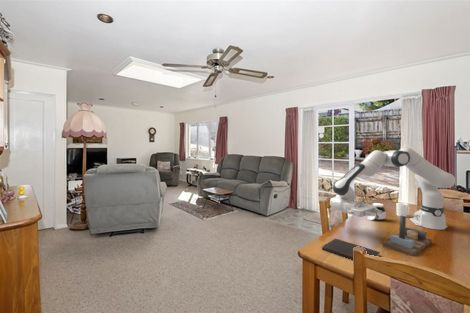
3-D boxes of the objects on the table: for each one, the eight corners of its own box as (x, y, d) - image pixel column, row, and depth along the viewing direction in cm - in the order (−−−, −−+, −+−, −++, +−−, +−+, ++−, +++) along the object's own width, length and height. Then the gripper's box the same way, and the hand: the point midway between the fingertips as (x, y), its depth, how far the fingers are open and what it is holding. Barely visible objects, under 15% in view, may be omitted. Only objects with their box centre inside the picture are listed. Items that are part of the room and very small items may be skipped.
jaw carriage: (411, 248, 120) (412, 219, 120) (389, 241, 129) (390, 214, 128) (414, 246, 123) (415, 218, 122) (393, 240, 131) (394, 213, 130)
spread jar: (386, 219, 175) (386, 204, 174) (383, 223, 166) (384, 207, 166) (368, 216, 183) (368, 201, 182) (365, 219, 174) (365, 204, 173)
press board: (412, 256, 117) (413, 244, 116) (382, 246, 128) (383, 235, 128) (431, 242, 132) (431, 232, 132) (403, 235, 144) (403, 225, 144)
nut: (404, 236, 137) (405, 229, 137) (414, 237, 136) (414, 230, 136) (409, 239, 132) (410, 233, 132) (419, 240, 131) (419, 233, 131)
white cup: (409, 218, 178) (410, 205, 177) (397, 216, 180) (397, 204, 180) (405, 215, 185) (406, 202, 185) (394, 214, 188) (394, 202, 187)
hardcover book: (335, 242, 135) (335, 238, 135) (379, 256, 118) (379, 251, 118) (321, 250, 124) (321, 246, 124) (368, 267, 107) (368, 262, 107)
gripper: (345, 205, 140) (369, 211, 129) (362, 201, 152) (386, 206, 140) (345, 215, 140) (369, 222, 129) (362, 210, 152) (385, 216, 141)
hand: (378, 213), depth 135 cm, fingers open, 8 cm apart
